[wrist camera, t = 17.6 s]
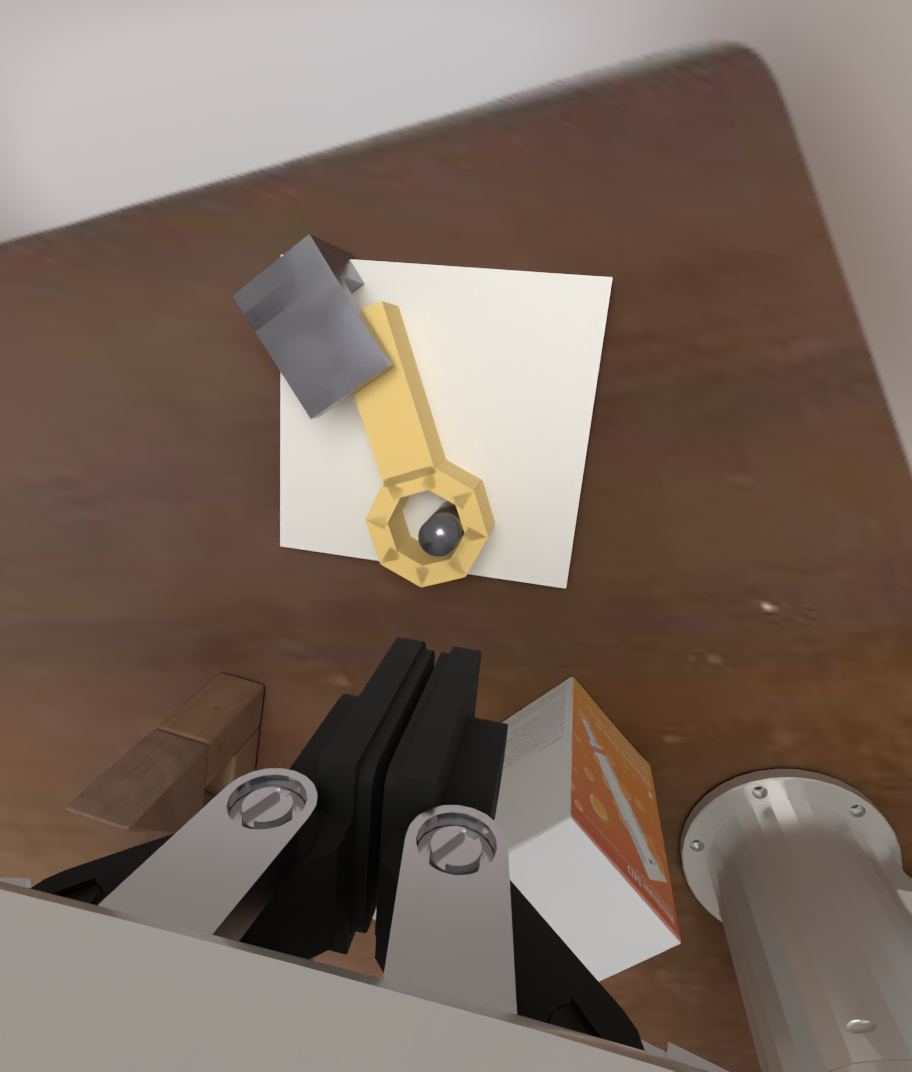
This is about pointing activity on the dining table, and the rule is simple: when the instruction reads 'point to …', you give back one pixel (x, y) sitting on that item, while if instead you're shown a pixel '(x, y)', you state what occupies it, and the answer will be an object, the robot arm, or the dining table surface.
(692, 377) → the dining table surface
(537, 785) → the small box
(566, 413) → the board
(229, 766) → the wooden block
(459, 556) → the link
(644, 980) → the dining table surface
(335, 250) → the block
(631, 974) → the dining table surface
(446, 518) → the pin
